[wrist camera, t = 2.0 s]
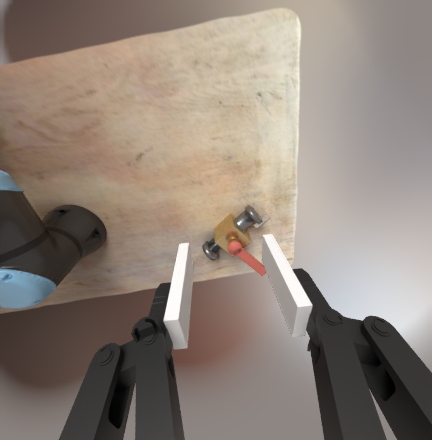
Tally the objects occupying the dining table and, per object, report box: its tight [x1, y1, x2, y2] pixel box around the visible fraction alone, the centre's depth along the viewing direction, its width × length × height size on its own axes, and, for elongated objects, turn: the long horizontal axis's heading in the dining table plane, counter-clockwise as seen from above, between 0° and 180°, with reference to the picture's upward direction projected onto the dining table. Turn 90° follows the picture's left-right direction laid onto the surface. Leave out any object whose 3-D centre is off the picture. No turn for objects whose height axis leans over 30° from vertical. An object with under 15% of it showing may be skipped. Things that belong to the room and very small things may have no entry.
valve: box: [202, 205, 270, 260], centre depth 52 cm, size 20×9×9 cm, turn 135°
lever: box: [227, 241, 267, 275], centre depth 49 cm, size 14×4×1 cm, turn 45°
